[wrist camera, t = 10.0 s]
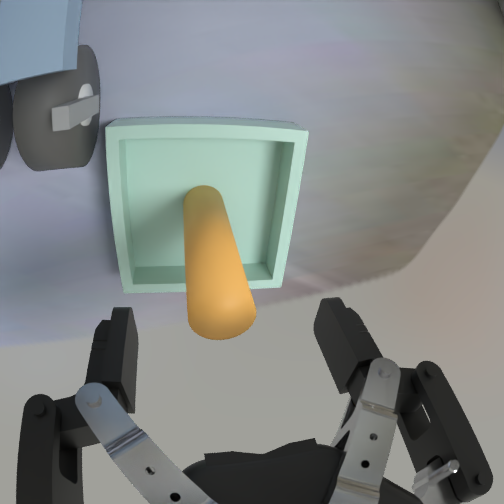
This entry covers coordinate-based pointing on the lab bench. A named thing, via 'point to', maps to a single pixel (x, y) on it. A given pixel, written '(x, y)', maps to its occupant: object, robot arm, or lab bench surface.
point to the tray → (196, 174)
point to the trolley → (47, 84)
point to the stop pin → (214, 269)
